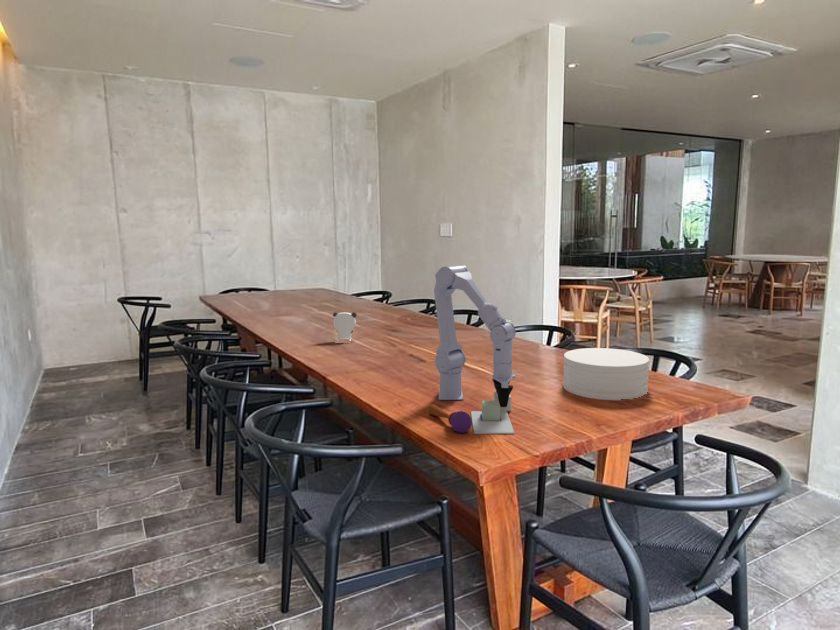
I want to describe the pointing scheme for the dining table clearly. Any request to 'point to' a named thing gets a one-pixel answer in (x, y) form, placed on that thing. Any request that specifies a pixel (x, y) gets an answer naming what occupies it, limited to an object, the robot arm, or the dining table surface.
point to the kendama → (453, 418)
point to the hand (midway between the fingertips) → (502, 403)
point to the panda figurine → (344, 324)
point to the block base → (490, 411)
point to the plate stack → (606, 373)
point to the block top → (507, 404)
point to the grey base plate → (491, 424)
